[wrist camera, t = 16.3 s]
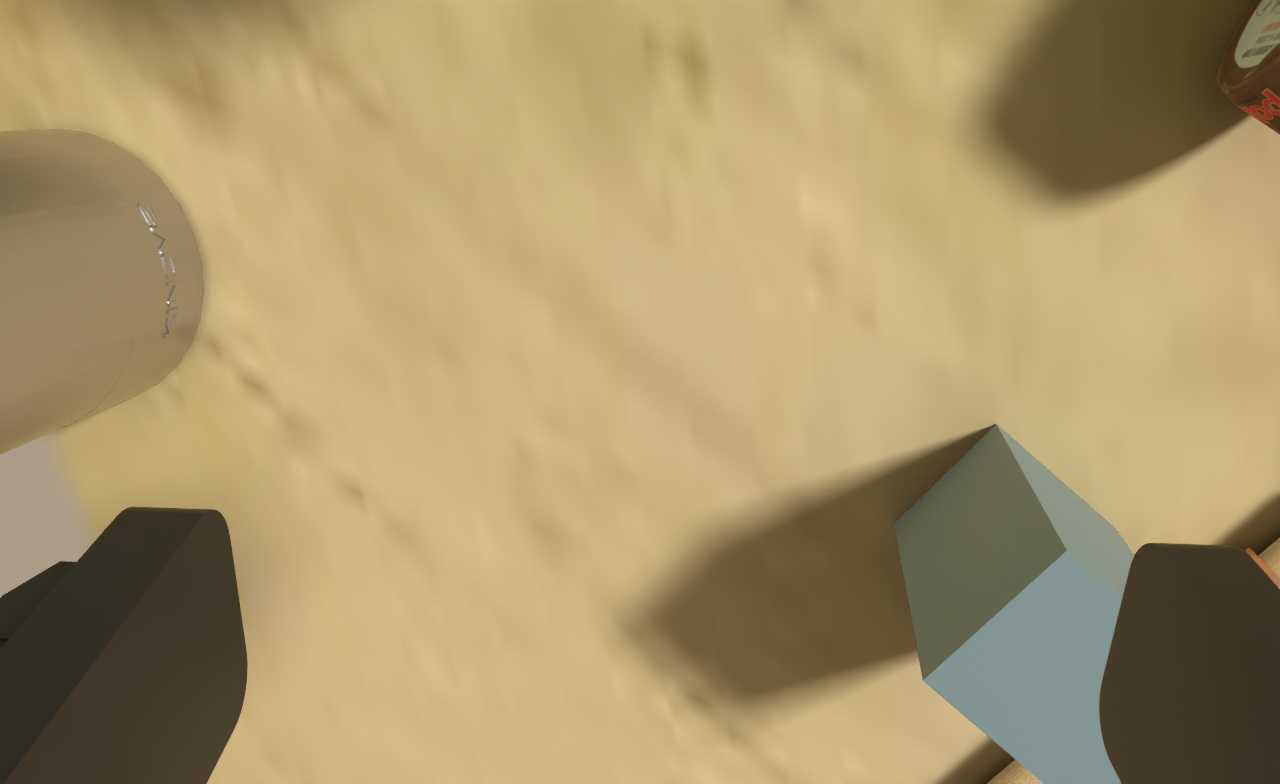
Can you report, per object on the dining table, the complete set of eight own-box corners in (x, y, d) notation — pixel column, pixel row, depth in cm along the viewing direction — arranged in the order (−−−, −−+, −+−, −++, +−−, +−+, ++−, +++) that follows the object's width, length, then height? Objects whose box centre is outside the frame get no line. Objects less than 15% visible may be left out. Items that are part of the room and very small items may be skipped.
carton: (893, 523, 36) (923, 680, 26) (996, 423, 34) (1066, 550, 25) (1011, 625, 36) (1083, 817, 26) (1117, 529, 34) (1233, 696, 25)
